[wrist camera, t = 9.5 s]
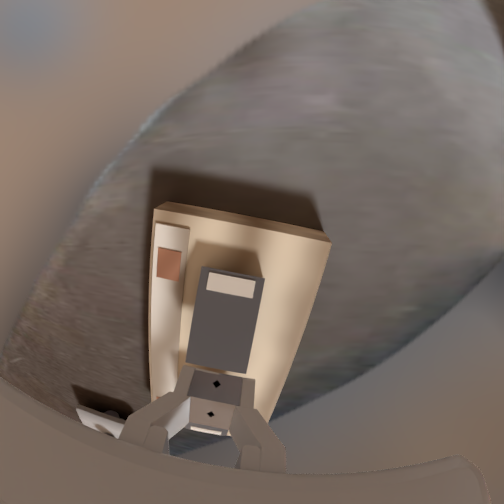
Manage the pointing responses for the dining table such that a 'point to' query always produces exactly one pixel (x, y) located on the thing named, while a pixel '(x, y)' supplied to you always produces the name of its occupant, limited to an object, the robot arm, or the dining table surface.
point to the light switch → (101, 420)
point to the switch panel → (239, 261)
